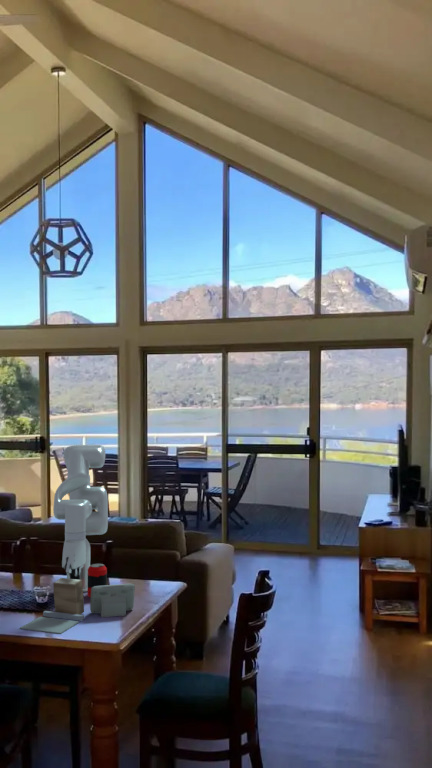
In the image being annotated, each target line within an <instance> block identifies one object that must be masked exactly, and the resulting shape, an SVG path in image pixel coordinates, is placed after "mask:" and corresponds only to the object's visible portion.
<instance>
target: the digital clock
mask: <svg viewBox="0 0 432 768" xmlns="http://www.w3.org/2000/svg"><path fill="white" fill-rule="evenodd" d="M135 587H136V586H135V584H134V583H122V584H121V583H119V584H109V585H108V584H107V585H104V586H94V587H92V588H91V598H90V602H89V603H90V604H89V605H90V606H89V608H90V609H89V611H90V613H92V614H100V617H101V618H108V617H109V618H111V617H121V616H127V611H133V609H134V606H135V605H134V604H135V590H136V588H135Z"/></svg>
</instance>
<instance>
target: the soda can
mask: <svg viewBox="0 0 432 768" xmlns="http://www.w3.org/2000/svg"><path fill="white" fill-rule="evenodd" d="M104 585H108V567H106V565H105V564H103V563H92V564H90V567H89V568H88V591H87V597H89V598H90V599H91V588H92V587H94V586H104Z"/></svg>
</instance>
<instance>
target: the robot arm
mask: <svg viewBox="0 0 432 768" xmlns="http://www.w3.org/2000/svg"><path fill="white" fill-rule="evenodd" d="M105 449H106V448H105V447H104V446H103V445H100V444H74V445H69V446H67V447H65V449H64V450H63V451H64V452H63V459H64V464H65V467H66V470H67V477H66V479H64V480H63V481H62V482H61V483H60V484H59V485H58V487H57V489H56V490H55V493H54V498H53V516H54V518H55V519H56V520H64V541H63V549H62V560H61V567H62V569H65V573H66V578H67V579H78V580H82V585H83V593H85V592H88V568H89V567H90V565H91V543H90V541H88V539H87V538H86V536H96V535H97V536H98V535H99V536H100V535H104V534H106V533H107V532H108V527H109V526H108V525H109V507H108V506H109V501H108V498H109V497H108V493H107V489H106V488H104V487H103V486H91V475H90V469H99V468H100V469H101V468H102V467H104V466H105V461H106V450H105ZM68 494H69V499H63V498H64V496H65V497H66V495H68ZM93 510H95V511H93Z"/></svg>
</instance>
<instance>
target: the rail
mask: <svg viewBox="0 0 432 768" xmlns="http://www.w3.org/2000/svg"><path fill="white" fill-rule="evenodd" d="M42 617H46V618H54V619H63V620H71V621H79V622H81V621H82V622H83V621H84V620H85V615H84V614H81V615H78V614H69V613H60V612H55V611H50V610H44V611H43V612H42Z"/></svg>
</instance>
